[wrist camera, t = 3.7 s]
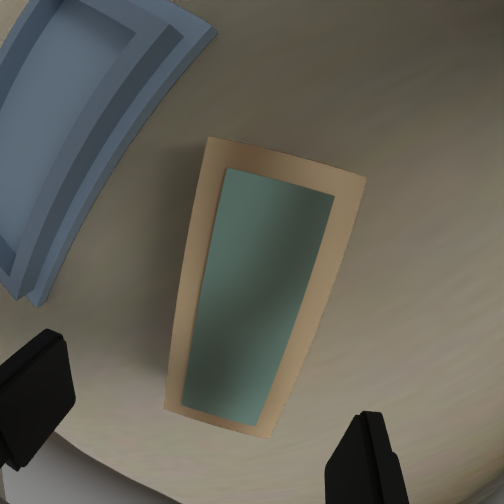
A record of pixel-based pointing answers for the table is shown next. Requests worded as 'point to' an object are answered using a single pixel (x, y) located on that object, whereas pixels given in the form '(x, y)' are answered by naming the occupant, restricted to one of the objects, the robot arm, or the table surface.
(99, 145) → the blue tray
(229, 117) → the table surface
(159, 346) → the table surface
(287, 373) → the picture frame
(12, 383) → the robot arm
